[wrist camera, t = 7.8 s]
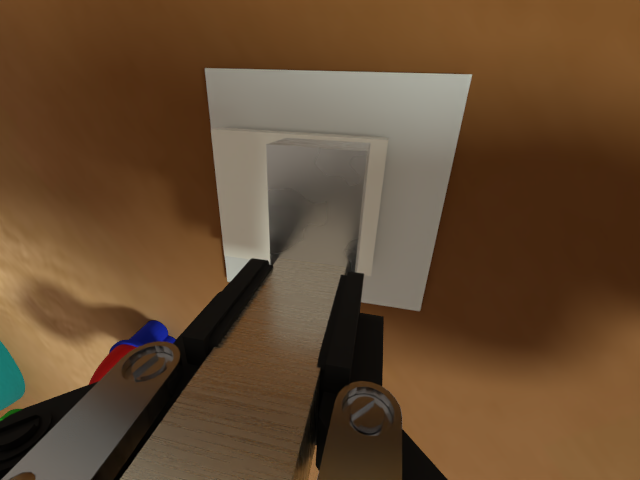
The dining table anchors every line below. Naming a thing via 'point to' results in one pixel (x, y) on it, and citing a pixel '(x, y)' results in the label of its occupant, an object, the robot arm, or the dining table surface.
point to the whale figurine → (9, 379)
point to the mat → (364, 120)
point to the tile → (252, 190)
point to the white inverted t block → (271, 332)
